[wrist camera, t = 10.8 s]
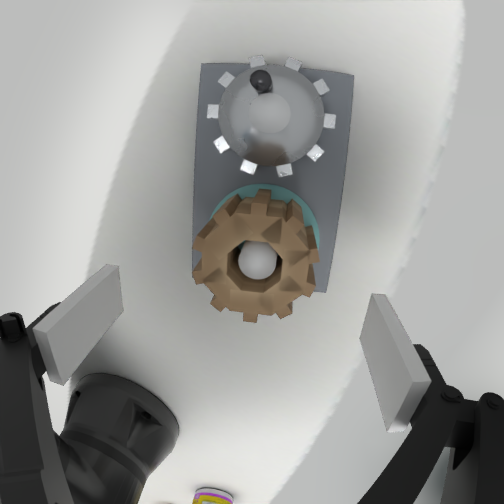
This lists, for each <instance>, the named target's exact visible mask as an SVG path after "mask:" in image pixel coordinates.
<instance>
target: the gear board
mask: <svg viewBox="0 0 504 504" xmlns="http://www.w3.org/2000/svg"><path fill="white" fill-rule="evenodd" d="M248 69H251V66H250V64H228V63H206V64H201V74H200V86H199V99H198V113H197V129H196V147H195V168H194V196H193V244H194V241H195V238H196V236H197V234H198V233H199V232H200V231H201V230H202V229H203V228H204V226H205V225H206V224H207V223H208V222H209V221H210V220H211V218H212V216H213V215H214V214H215V213H216V212H217V210H218V209H219V208H220V207H221V206H222V205H223V204H224V203H225V202H226V201H227V200H228V199H229V198H231V197H232V196H234V195H236V194H237V193H238V194H239V196H240V198H241V199H242V200H243V199H244V198H245V197H255V195H256V193H257V192H258V190H259V188H260V189H271V190H272V191H271V199H276V200H284V202H285V203H286V204H288V203H289V201H290V200H291V199H293V200H294V201H296V202H297V203H298V204H299V205H300V206H301V207H302V213H303V220H304V226H305V227H306V226H311V225H312V227H313V231H314V235H315V240H316V244H317V248H318V254H319V259H320V262H318V263H313V269H314V276H315V282H316V287H315V289H314V292H324V293H326V290H327V285H328V280H329V274H330V269H331V263H332V257H333V251H334V245H335V239H336V233H337V227H338V220H339V213H340V206H341V199H342V192H343V184H344V176H345V168H346V160H347V151H348V141H349V131H350V121H351V109H352V96H353V82H354V75H349V74H343V73H337V72H330V71H323V70H315V69H307V68H301V71H300V73H301V74H302V75H304V76H305V77H306V78H307V79H308V80H310V82H311V83H312V84H313V83H314V82H316V81H318V80H320V79H323V80H324V82H325V83H326V85H327V86H328V88H329V90H330V91H329V92H328V93H327V94H326V95H325V96H323V97H321V100H322V103H323V107H324V113H327V114H334V115H336V120H335V129H322V132H321V135H320V137H319V139H318V141H317V143H316V144H317V145H318V146H319V147H320V148H321V149H322V150H323V151H324V153H323V154H322V155H321V156H320V157H319V158H318V159H317V160H316V161H315V162H314V161H313V160H312V159H311V158H310V157H309V156H308V155H307V154H306V155H304V156H303V157H301V158H300V159H298V160H296V161H294V162H292V163H291V166H292V173H293V174H292V175H287V176H282V177H279V176H278V172H277V168H276V166H263V165H259V168H258V170H257V171H256V172H255V173H254V174H253V175H252V174H250V173H247V172H245V171H242V170H240V168H241V166H242V163H243V161H244V159H243V158H242V157H241V156H239V155H238V154H237V153H235V152H234V151H233V150H232V149H231V150H230V151H227V152H224V153H220V152H219V150H218V149H217V147H216V145H215V144H214V141H215V140H217V139H218V138H220V137H221V136H223V135H222V133H221V130H220V126H219V121H218V120H215V119H210V118H207V111H208V104H211V105H219V104H220V100H221V98H222V95H223V93H224V91H225V89H226V88H225V87H224V86H223V85H221V84H220V83H219V82H218V80H219V79H220V78H221V77H222V76H223V75H224V74H225V72H226V71H227V72H228V73H230V74H231V75H232V76H234V77H235V78H236V77H237V76H238V75H239V74H241V73H243V72H244V71H246V70H248ZM290 115H291V112H290V107H289V104H288V103H287V101H286V100H285V99H284V98H283V97H281V96H280V95H277V94H274V93H265V94H261V95H259V96H258V97H256V98H255V99H254V100H253V101H252V103H251V105H250V107H249V119H250V121H251V123H252V125H253V126H254V127H255V128H256V129H258V130H259V131H262V132H265V133H277V132H279V131H281V130H283V129H284V128H285V127H286V126H287V125H288V123H289V120H290ZM192 247H193V246H192ZM238 248H239V249H240V250H241V253H240V255H239V259H238V264H239V267H240V269H241V271H242V272H243V273H244V274H245V275H246V276H247V277H249V278H252V279H264V278H267V277H268V276H270V275H271V274H272V273H273V271H274V270H275V267H276V260H277V256H278V255H279V254H278V253H277V252H276V251H275V250H274V249H273V248H272V246H271V245H270V244H269V243H268V242H259V241H250V240H244V241H243V242H241V243H240V244H239V245H238ZM201 258H202V252H199V251H197V250H195V249H192V271H193V270H194V268H195V267H196V265H197V264H198V262H199V261H200V259H201ZM192 278H194V277H193V274H192Z"/></svg>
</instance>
